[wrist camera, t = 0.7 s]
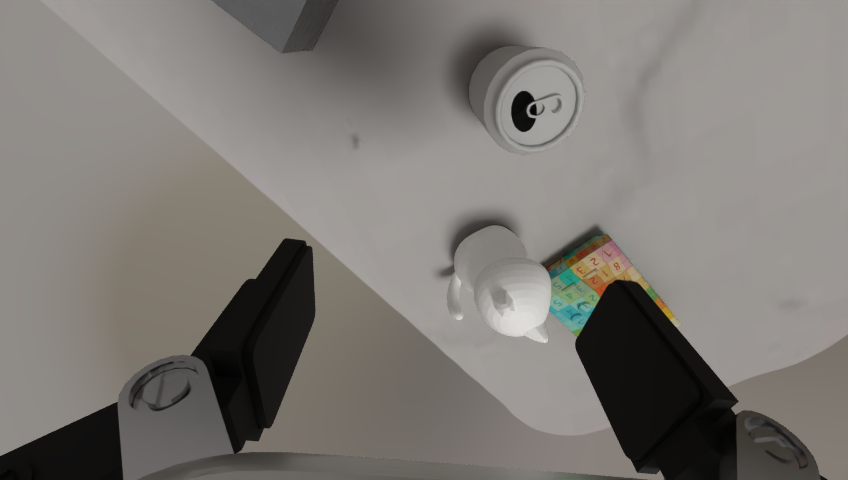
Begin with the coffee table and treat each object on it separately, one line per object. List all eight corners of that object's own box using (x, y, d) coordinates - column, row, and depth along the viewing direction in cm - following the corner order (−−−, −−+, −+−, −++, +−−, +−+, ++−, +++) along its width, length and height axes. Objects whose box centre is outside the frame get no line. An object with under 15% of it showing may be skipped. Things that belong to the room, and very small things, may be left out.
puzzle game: (615, 243, 38) (686, 329, 45) (597, 223, 42) (664, 306, 49) (531, 297, 42) (608, 368, 50) (522, 275, 46) (595, 343, 54)
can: (460, 58, 32) (478, 67, 22) (538, 35, 31) (596, 32, 21) (474, 134, 36) (495, 172, 25) (544, 115, 35) (595, 147, 24)
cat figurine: (539, 243, 43) (591, 328, 30) (469, 296, 48) (487, 389, 35) (496, 200, 40) (533, 274, 27) (425, 261, 44) (427, 349, 31)
